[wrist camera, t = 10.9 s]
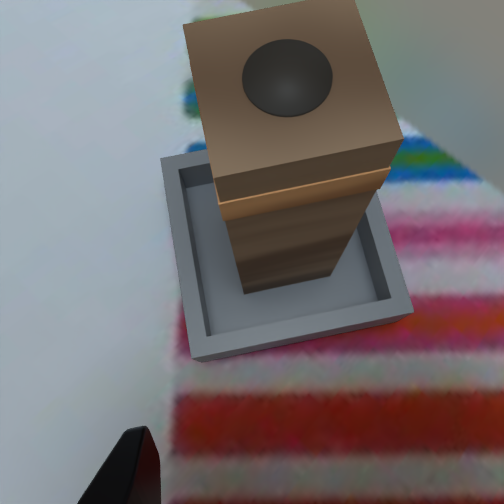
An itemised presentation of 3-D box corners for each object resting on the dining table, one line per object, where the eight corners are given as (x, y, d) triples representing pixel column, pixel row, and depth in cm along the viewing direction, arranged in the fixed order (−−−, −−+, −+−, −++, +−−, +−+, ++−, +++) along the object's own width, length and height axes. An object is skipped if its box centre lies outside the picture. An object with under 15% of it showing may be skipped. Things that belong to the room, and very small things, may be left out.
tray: (396, 321, 23) (414, 311, 20) (201, 362, 22) (191, 358, 20) (344, 150, 26) (354, 120, 23) (172, 184, 25) (160, 158, 23)
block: (331, 276, 23) (408, 137, 10) (243, 295, 23) (211, 178, 10) (309, 196, 24) (353, -14, 12) (226, 213, 24) (179, 20, 11)
